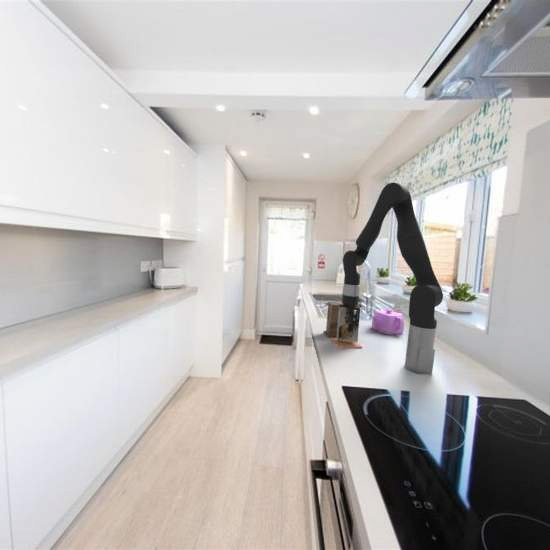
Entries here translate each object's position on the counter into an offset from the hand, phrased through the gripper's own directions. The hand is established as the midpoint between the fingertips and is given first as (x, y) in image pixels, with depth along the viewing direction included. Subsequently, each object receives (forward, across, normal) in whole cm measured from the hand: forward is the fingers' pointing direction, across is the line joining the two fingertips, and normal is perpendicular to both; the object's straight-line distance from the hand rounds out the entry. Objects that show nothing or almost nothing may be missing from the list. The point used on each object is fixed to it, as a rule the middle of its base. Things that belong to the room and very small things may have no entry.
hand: (347, 328), depth 140 cm
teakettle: (+8, -24, +32) cm, 41 cm away
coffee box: (+5, 0, 0) cm, 5 cm away
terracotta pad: (+7, 0, 0) cm, 7 cm away
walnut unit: (+7, -13, +1) cm, 15 cm away
